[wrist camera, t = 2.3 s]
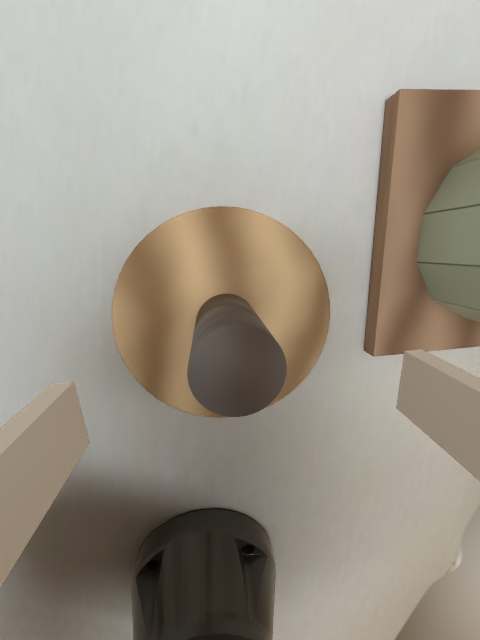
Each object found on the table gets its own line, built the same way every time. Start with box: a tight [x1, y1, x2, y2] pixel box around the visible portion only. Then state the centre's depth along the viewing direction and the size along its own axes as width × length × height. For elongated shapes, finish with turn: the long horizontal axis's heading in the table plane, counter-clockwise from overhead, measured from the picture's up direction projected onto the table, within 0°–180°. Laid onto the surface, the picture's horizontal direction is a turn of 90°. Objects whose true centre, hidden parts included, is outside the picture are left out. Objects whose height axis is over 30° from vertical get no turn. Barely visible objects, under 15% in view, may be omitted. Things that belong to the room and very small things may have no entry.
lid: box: [112, 207, 330, 417], centre depth 18 cm, size 18×18×10 cm
